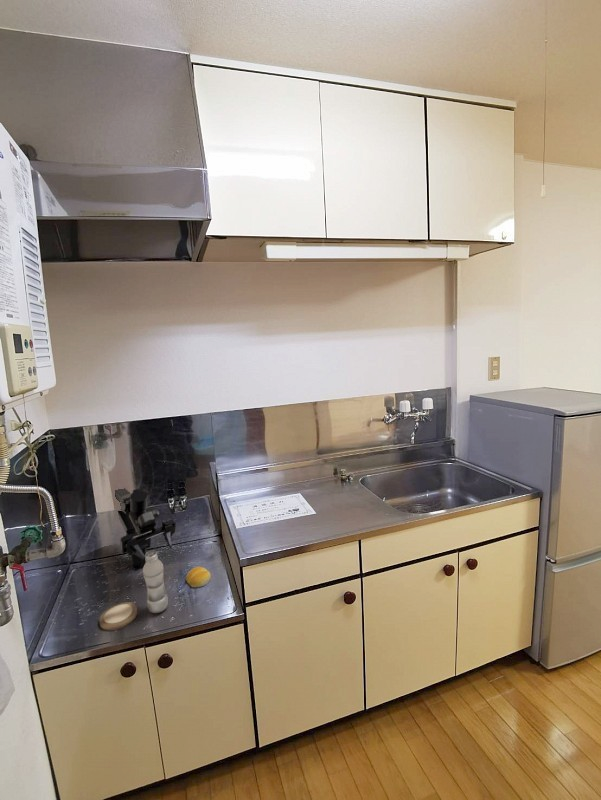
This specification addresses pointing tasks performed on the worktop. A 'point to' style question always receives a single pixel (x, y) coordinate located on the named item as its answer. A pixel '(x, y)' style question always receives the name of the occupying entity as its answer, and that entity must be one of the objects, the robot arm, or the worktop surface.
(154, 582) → the plastic bottle
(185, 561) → the worktop surface
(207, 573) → the bread roll
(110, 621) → the tan round plate
